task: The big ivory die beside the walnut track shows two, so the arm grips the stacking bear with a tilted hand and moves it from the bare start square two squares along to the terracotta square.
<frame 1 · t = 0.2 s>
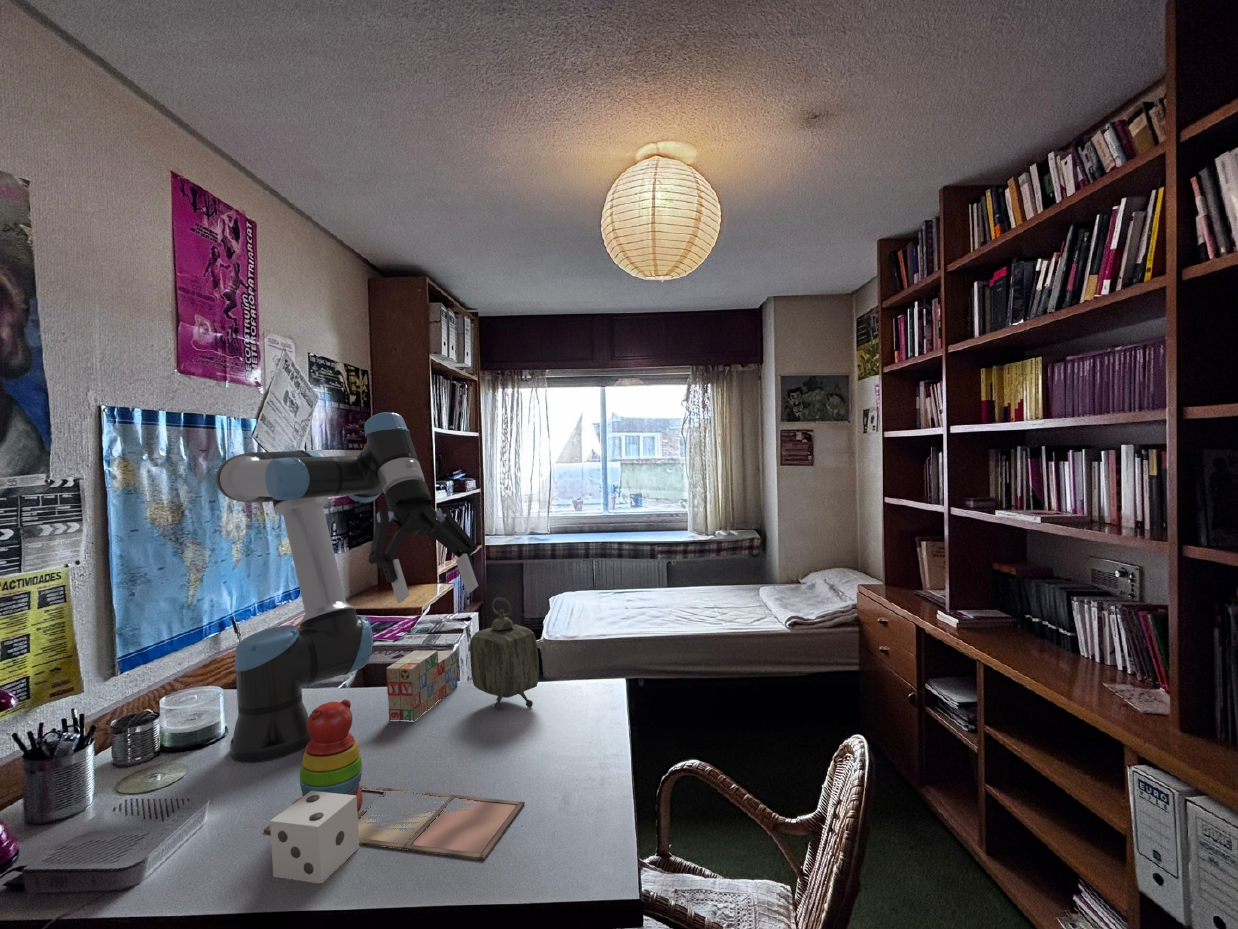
hand: (439, 594, 108), 34 cm above the table, tool tilted 35°, fingers open, 13 cm apart
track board: (397, 818, 102), on the table
stack of blocks: (425, 704, 151), on the table
die: (317, 862, 92), on the table
stacking bear: (331, 810, 105), on the table, touching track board
tabletop clock: (505, 707, 146), on the table
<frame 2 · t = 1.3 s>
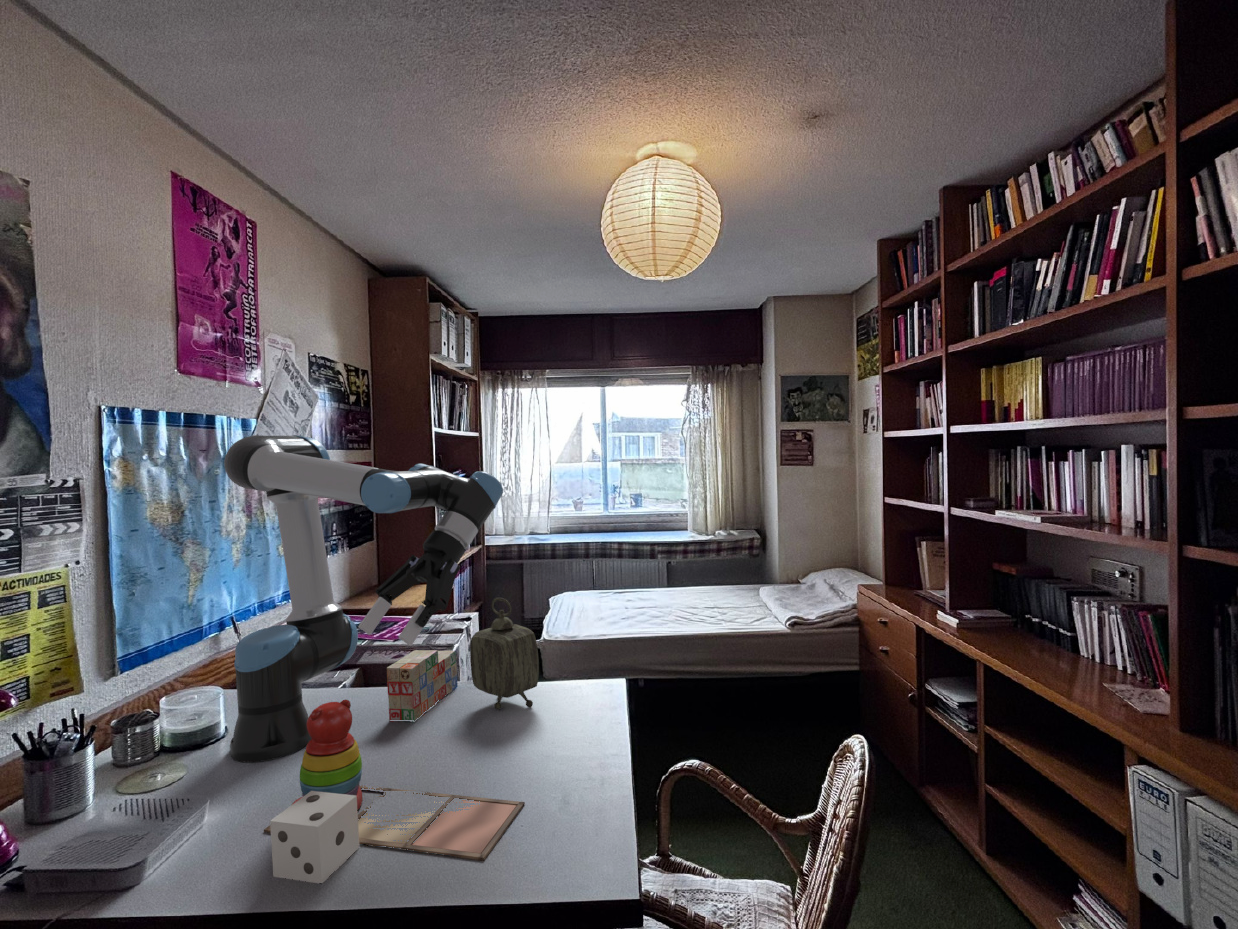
hand: (383, 636, 113), 26 cm above the table, tool tilted 45°, fingers open, 13 cm apart
nothing on the table moved.
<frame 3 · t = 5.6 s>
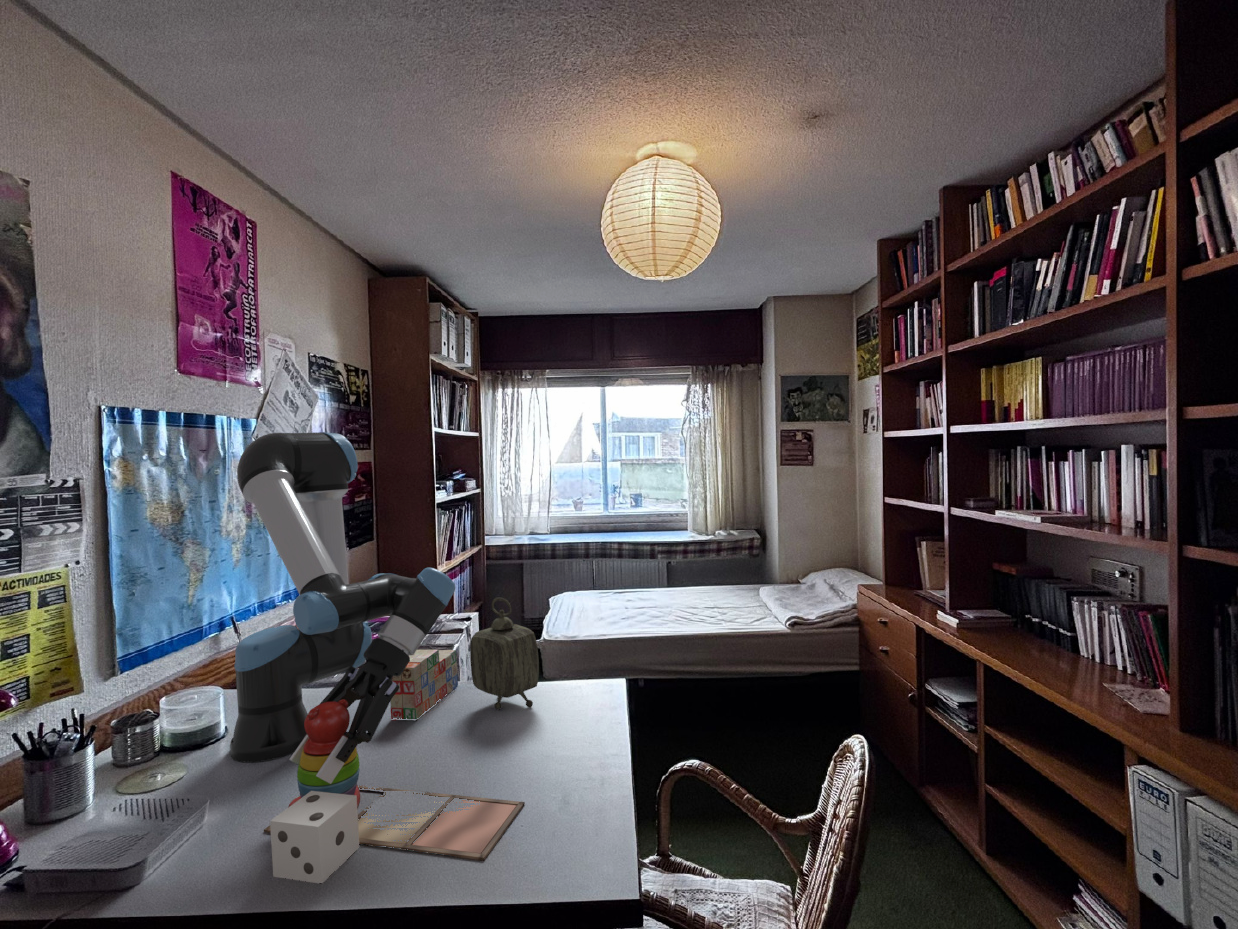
hand: (309, 771, 103), 8 cm above the table, tool tilted 45°, fingers closed on stacking bear, 9 cm apart
stacking bear: (329, 810, 106), on the table, touching gripper, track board
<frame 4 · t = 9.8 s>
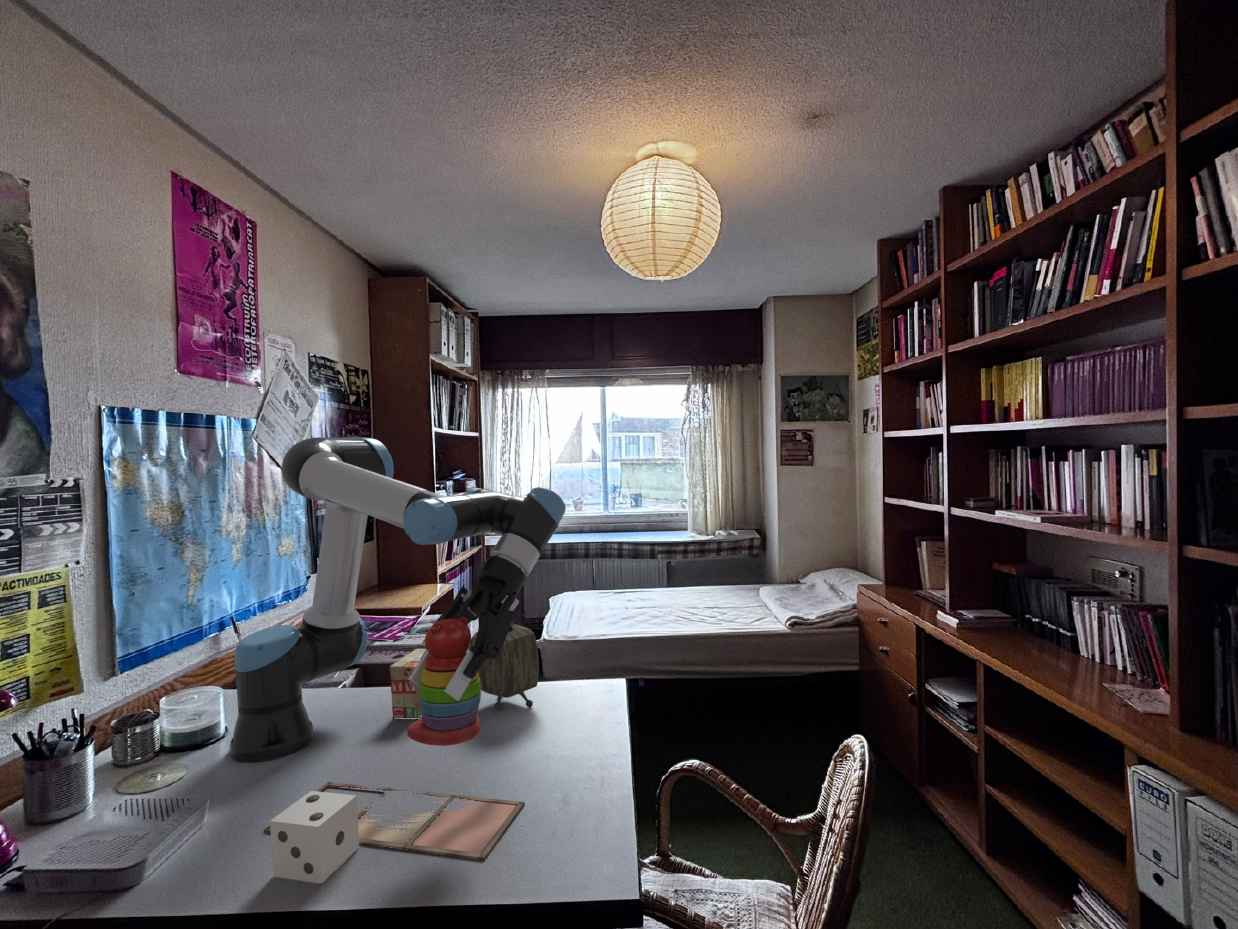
hand: (432, 689, 96), 22 cm above the table, tool tilted 45°, fingers closed on stacking bear, 9 cm apart
stacking bear: (450, 734, 99), point 14 cm above the table, touching gripper
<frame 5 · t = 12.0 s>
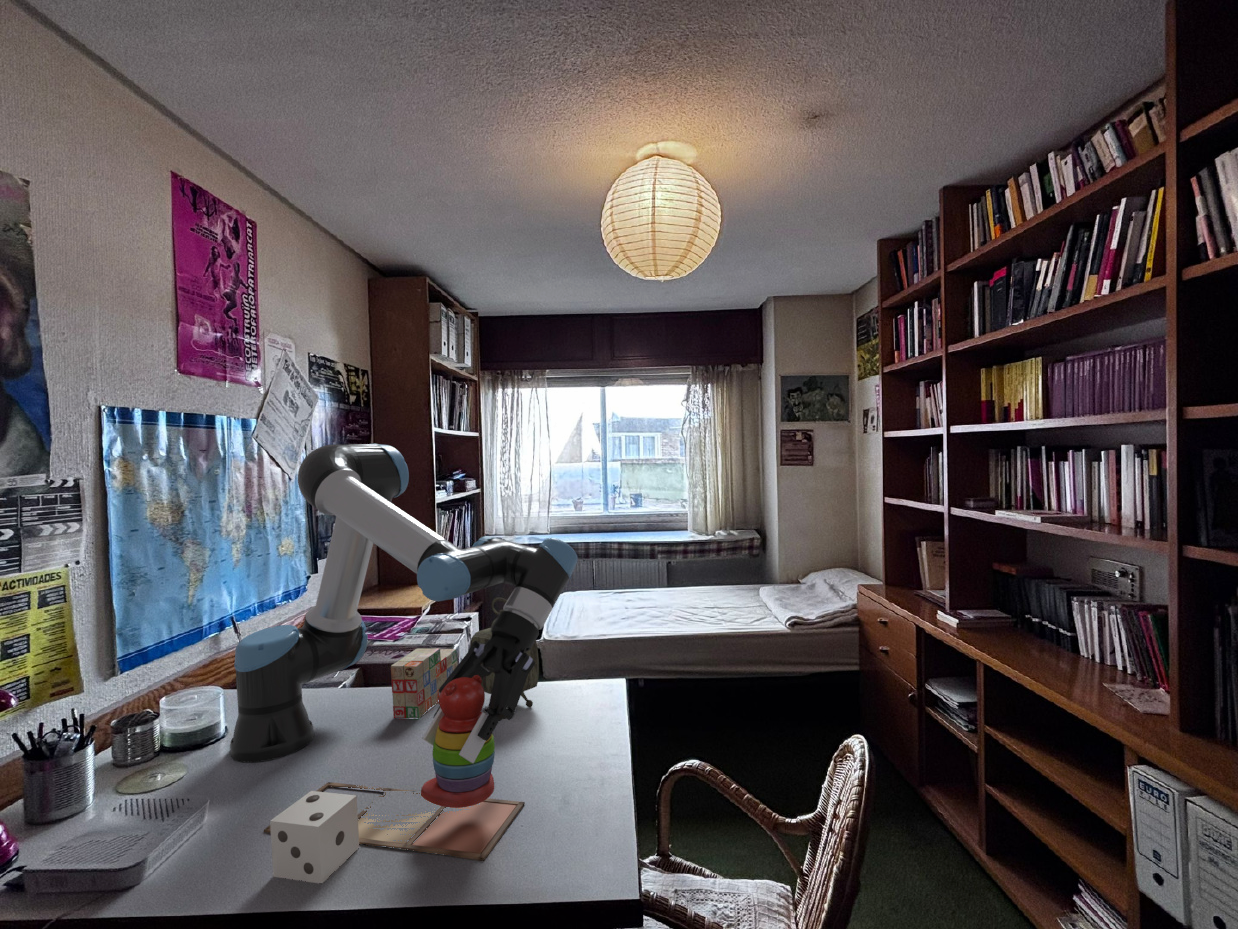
hand: (446, 750, 96), 13 cm above the table, tool tilted 45°, fingers closed on stacking bear, 9 cm apart
stacking bear: (463, 793, 99), point 5 cm above the table, touching gripper
when the fingers open (9 cm above the table, at t = 13.9 s): stacking bear stays where it is, resting on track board.
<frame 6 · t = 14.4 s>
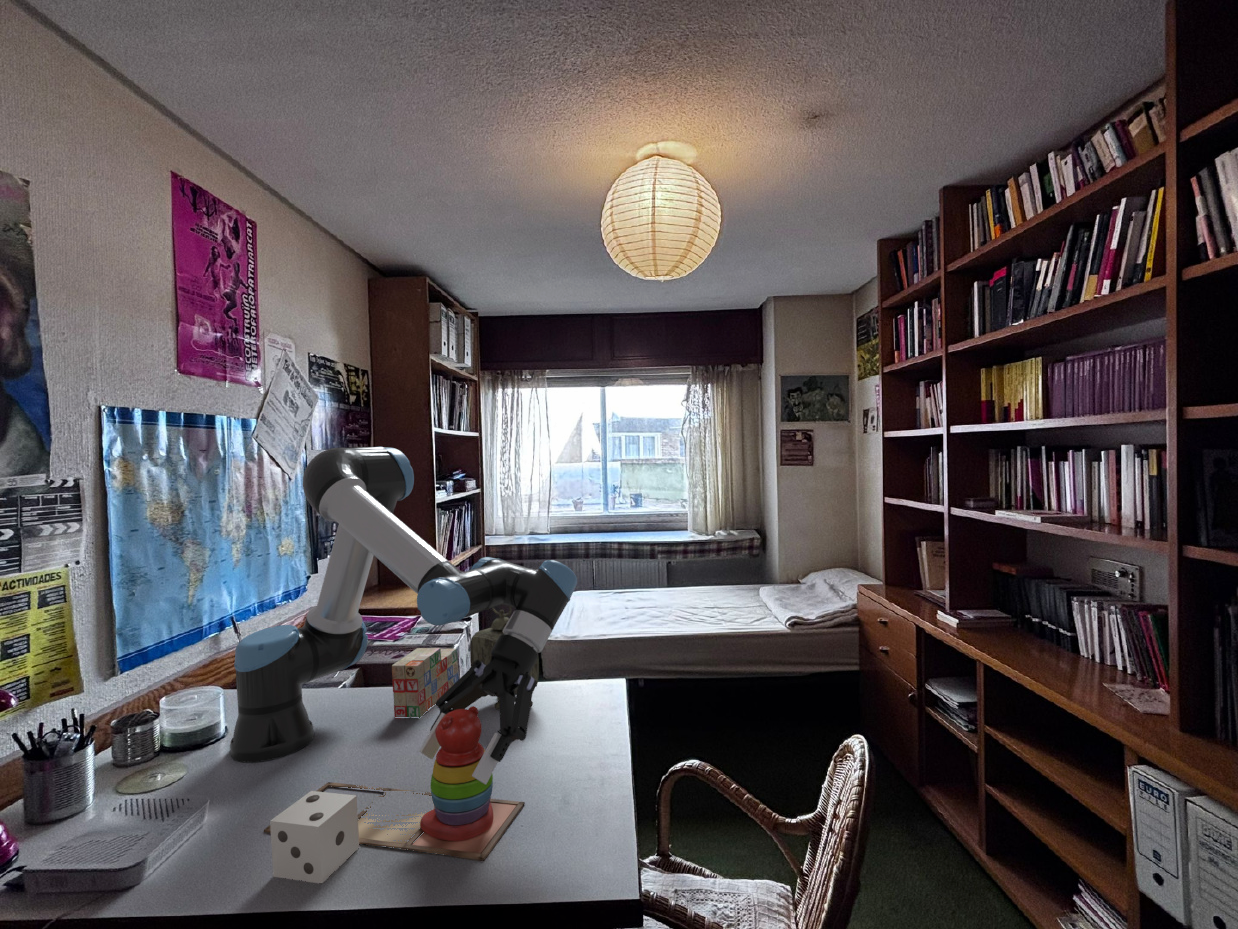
hand: (450, 767, 97), 10 cm above the table, tool tilted 45°, fingers open, 13 cm apart
stacking bear: (462, 824, 99), resting on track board
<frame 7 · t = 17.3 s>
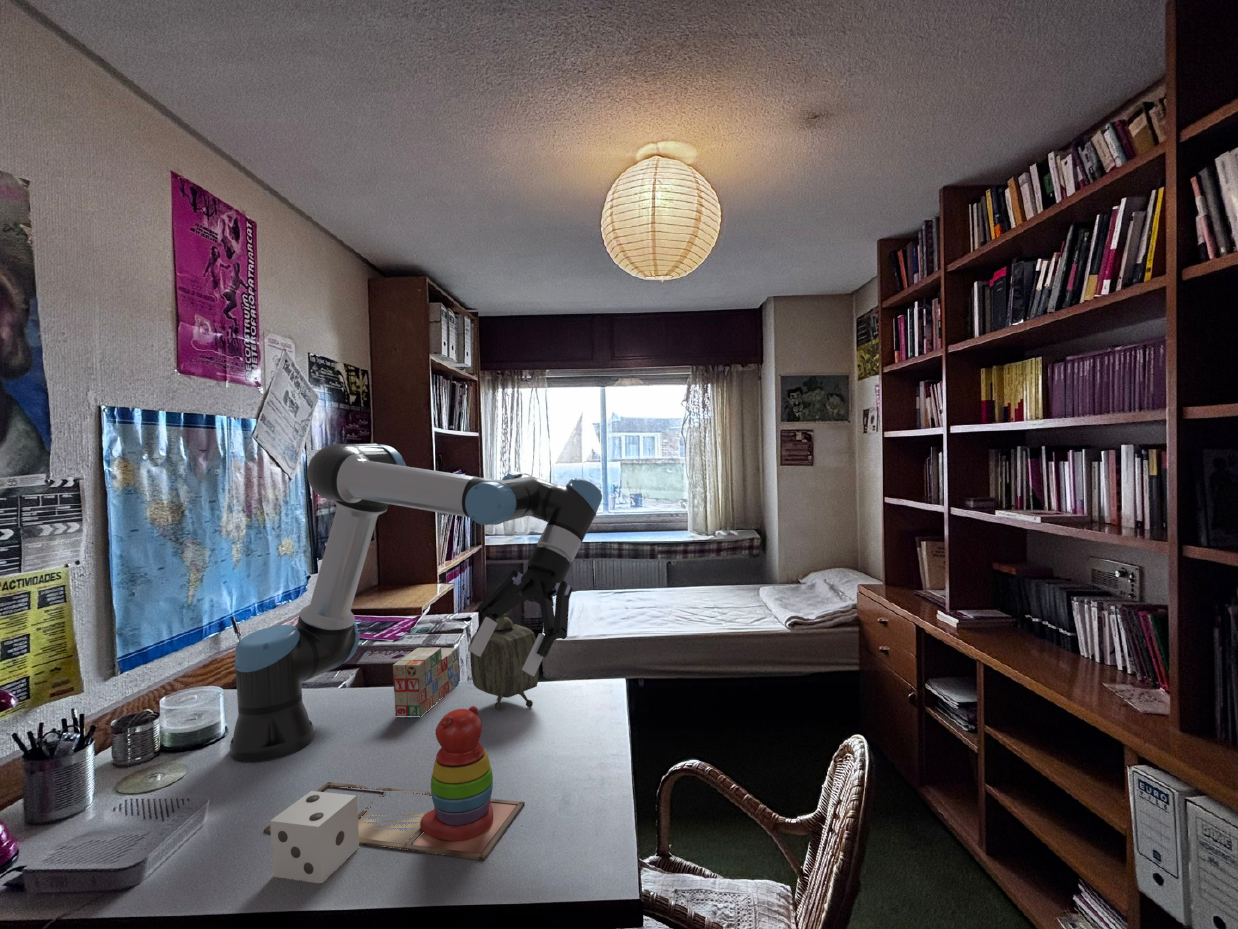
hand: (499, 663, 109), 22 cm above the table, tool tilted 40°, fingers open, 13 cm apart
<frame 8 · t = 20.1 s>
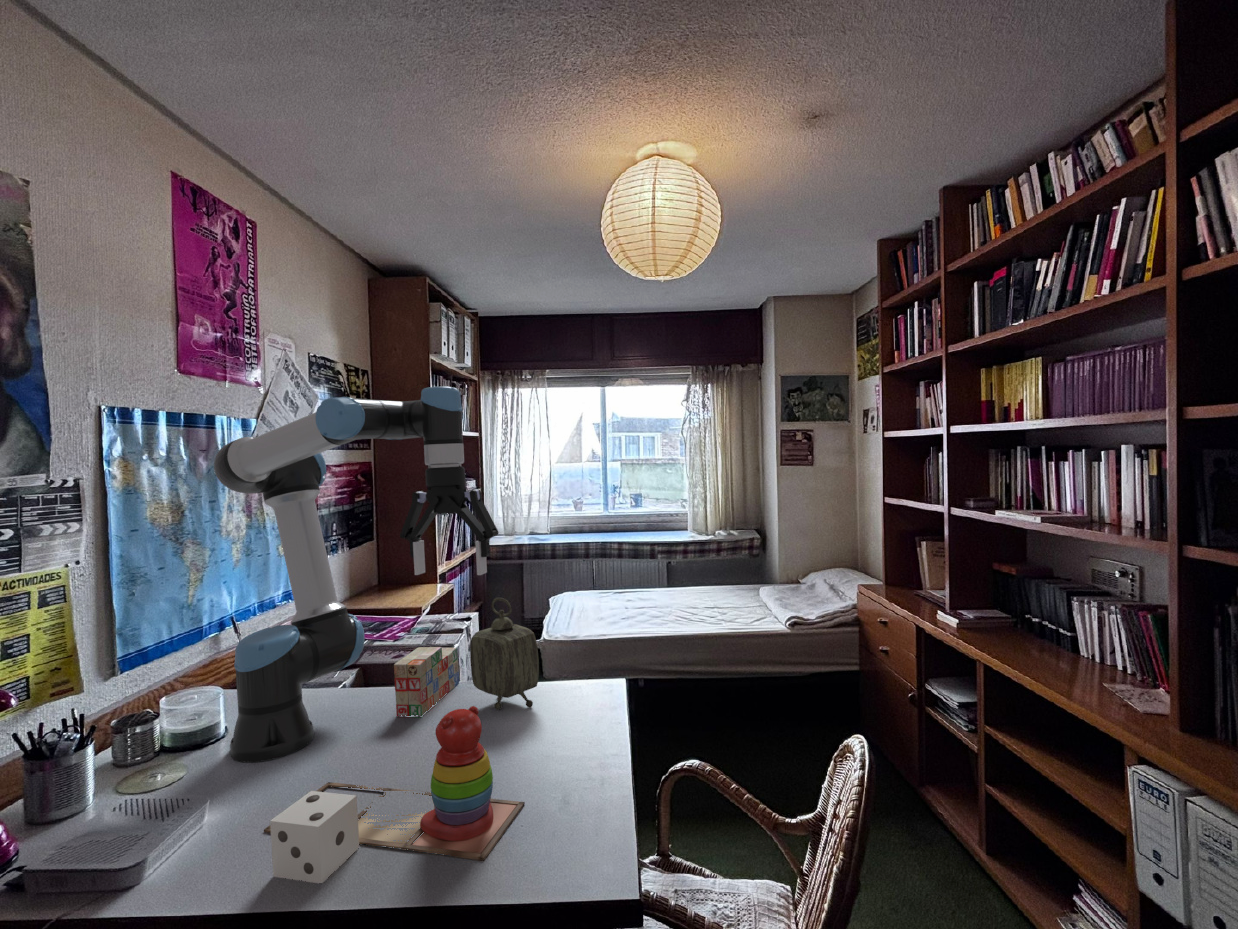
hand: (450, 574, 125), 35 cm above the table, tool pointing down, fingers open, 13 cm apart
at the end: stacking bear inside the target area on the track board (0.8 cm from its centre), point 0.1 cm above the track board's base; stacking bear tilted 1°; the gripper is holding nothing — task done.
